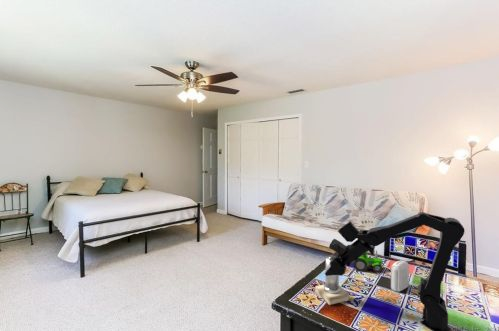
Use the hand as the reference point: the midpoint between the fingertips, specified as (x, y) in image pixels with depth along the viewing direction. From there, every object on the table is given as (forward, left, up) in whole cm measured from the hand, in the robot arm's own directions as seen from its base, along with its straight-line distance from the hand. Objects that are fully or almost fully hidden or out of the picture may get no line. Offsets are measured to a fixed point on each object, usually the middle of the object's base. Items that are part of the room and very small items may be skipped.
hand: (328, 270), depth 110 cm
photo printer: (-6, -35, -11) cm, 37 cm away
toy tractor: (+16, -36, -11) cm, 41 cm away
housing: (-1, -1, -8) cm, 8 cm away
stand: (-1, -1, -11) cm, 11 cm away
